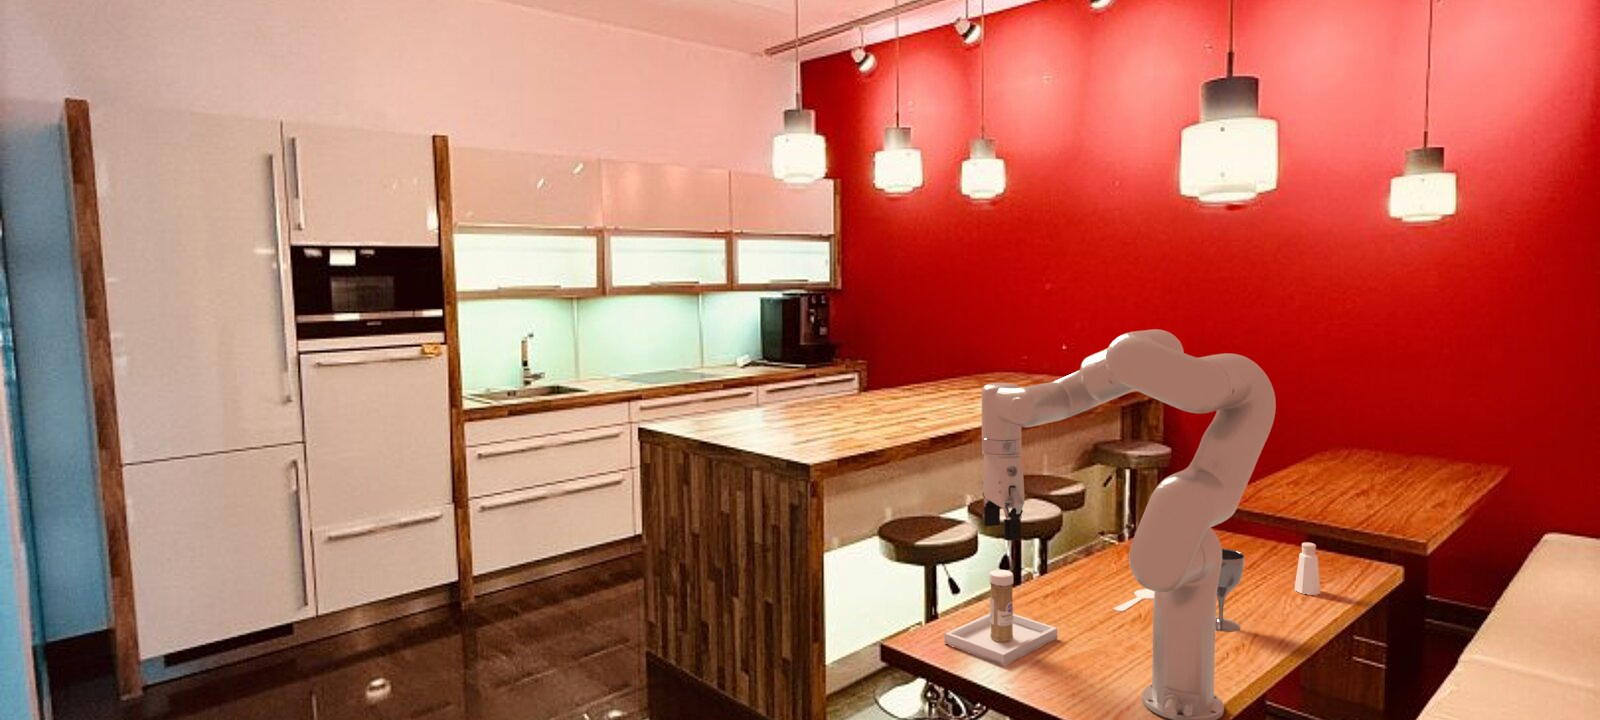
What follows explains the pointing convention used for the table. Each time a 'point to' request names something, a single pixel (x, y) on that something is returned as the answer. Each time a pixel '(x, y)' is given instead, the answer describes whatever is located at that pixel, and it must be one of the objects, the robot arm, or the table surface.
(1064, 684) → the table surface
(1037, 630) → the tray
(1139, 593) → the spoon
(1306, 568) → the salt shaker
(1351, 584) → the table surface
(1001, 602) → the sprinkles bottle
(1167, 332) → the robot arm
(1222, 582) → the wine glass
